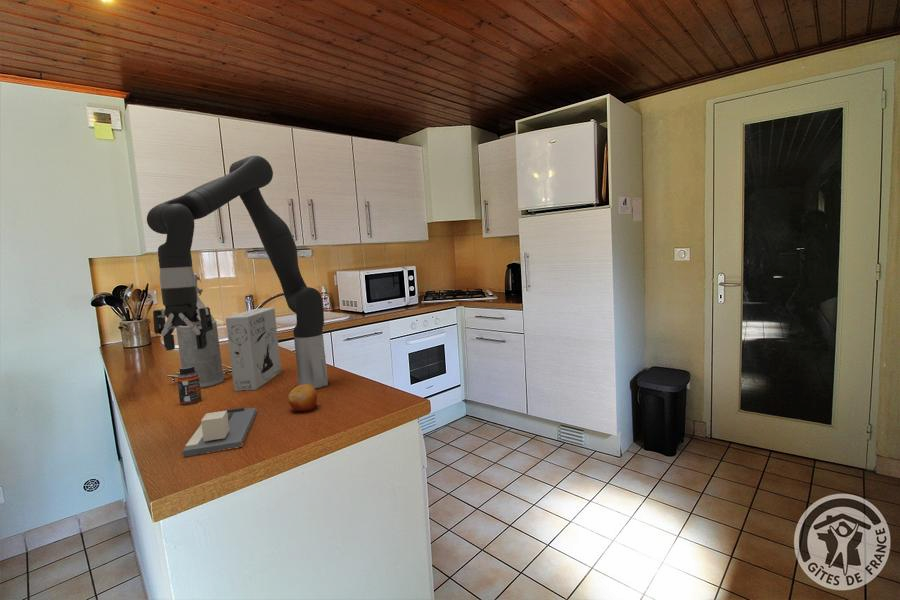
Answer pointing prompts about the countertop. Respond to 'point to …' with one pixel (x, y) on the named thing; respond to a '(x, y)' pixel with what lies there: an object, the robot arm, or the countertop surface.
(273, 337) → the cereal box
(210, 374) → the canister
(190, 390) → the supplement bottle
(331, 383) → the countertop surface
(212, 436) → the tab
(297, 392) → the fruit
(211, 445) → the board
